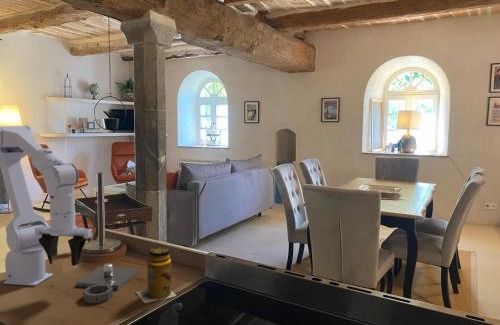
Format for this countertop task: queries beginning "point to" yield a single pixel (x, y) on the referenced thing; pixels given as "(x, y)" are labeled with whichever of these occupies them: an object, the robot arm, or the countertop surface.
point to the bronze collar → (62, 263)
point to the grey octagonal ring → (92, 297)
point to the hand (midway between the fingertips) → (64, 263)
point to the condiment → (158, 276)
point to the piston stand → (108, 276)
